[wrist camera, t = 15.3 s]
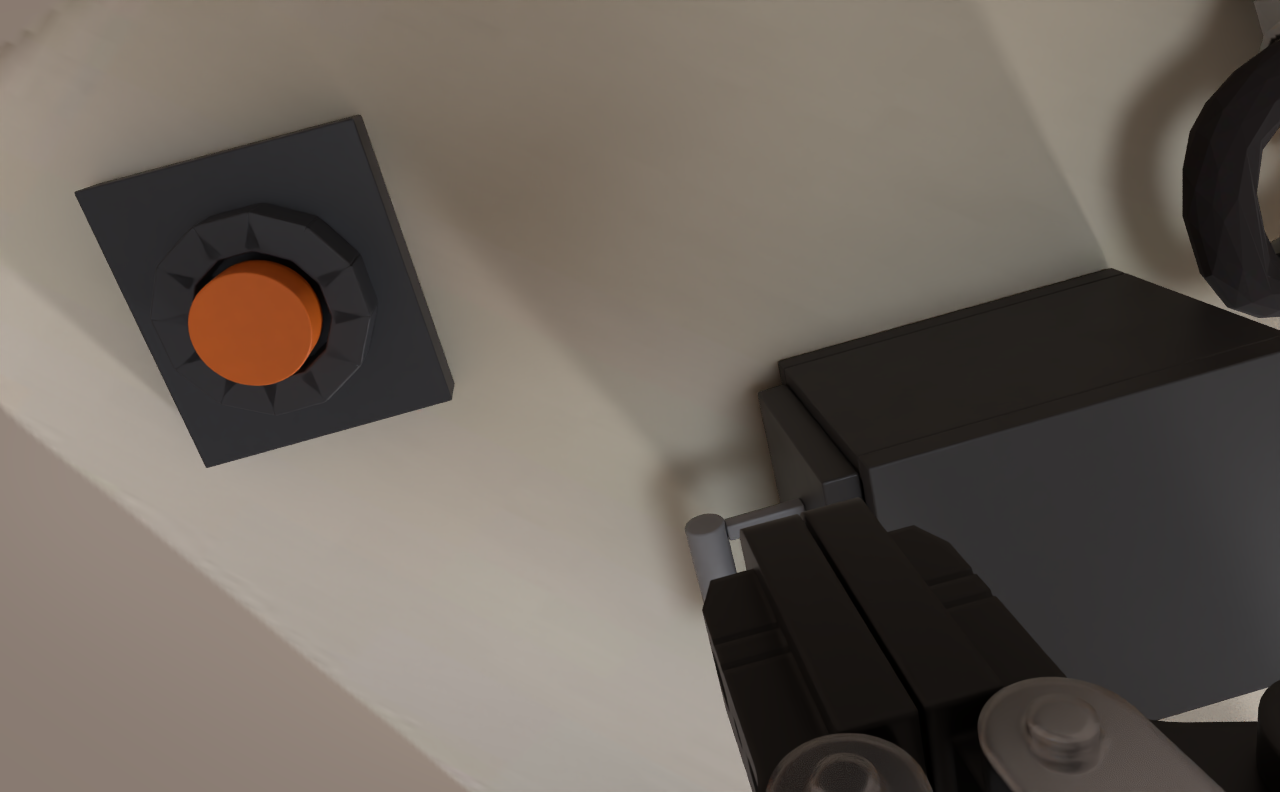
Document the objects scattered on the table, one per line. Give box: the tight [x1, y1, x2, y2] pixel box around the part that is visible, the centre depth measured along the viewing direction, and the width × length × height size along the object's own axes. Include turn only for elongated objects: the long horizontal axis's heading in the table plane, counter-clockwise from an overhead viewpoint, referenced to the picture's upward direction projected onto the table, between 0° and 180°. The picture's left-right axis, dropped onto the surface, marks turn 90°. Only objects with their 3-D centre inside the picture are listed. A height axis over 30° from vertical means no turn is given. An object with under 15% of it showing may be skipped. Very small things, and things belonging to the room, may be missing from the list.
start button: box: [188, 260, 323, 386], centre depth 29 cm, size 4×4×2 cm
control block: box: [75, 115, 454, 468], centre depth 31 cm, size 10×9×4 cm
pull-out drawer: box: [685, 384, 866, 602], centre depth 34 cm, size 17×12×8 cm
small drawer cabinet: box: [778, 268, 1280, 720], centre depth 34 cm, size 14×13×10 cm
